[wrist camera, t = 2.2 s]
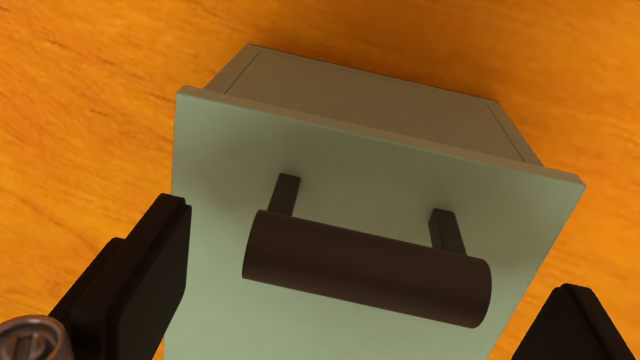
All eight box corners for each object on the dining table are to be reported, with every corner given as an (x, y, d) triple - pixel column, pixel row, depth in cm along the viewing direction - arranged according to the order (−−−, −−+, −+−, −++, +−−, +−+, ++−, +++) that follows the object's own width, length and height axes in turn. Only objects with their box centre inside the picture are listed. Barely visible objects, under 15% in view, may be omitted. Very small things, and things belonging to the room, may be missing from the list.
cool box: (246, 43, 22) (183, 107, 15) (498, 101, 23) (565, 193, 15) (217, 280, 30) (166, 403, 22) (405, 321, 30) (417, 456, 23)
